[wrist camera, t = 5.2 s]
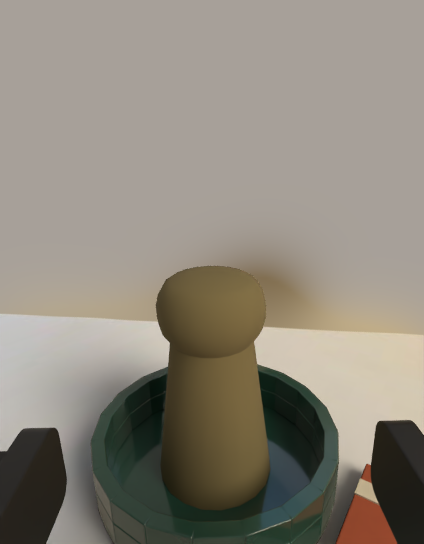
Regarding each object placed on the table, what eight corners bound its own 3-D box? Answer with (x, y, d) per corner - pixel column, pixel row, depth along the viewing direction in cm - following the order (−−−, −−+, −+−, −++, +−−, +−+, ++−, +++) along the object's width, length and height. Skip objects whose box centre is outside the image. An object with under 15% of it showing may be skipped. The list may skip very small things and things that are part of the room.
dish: (47, 494, 20) (37, 448, 19) (194, 377, 30) (192, 342, 29) (264, 672, 13) (266, 613, 12) (362, 442, 23) (368, 400, 22)
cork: (238, 533, 17) (237, 308, 14) (137, 477, 20) (115, 282, 17) (287, 446, 22) (295, 264, 19) (199, 412, 25) (193, 249, 22)
